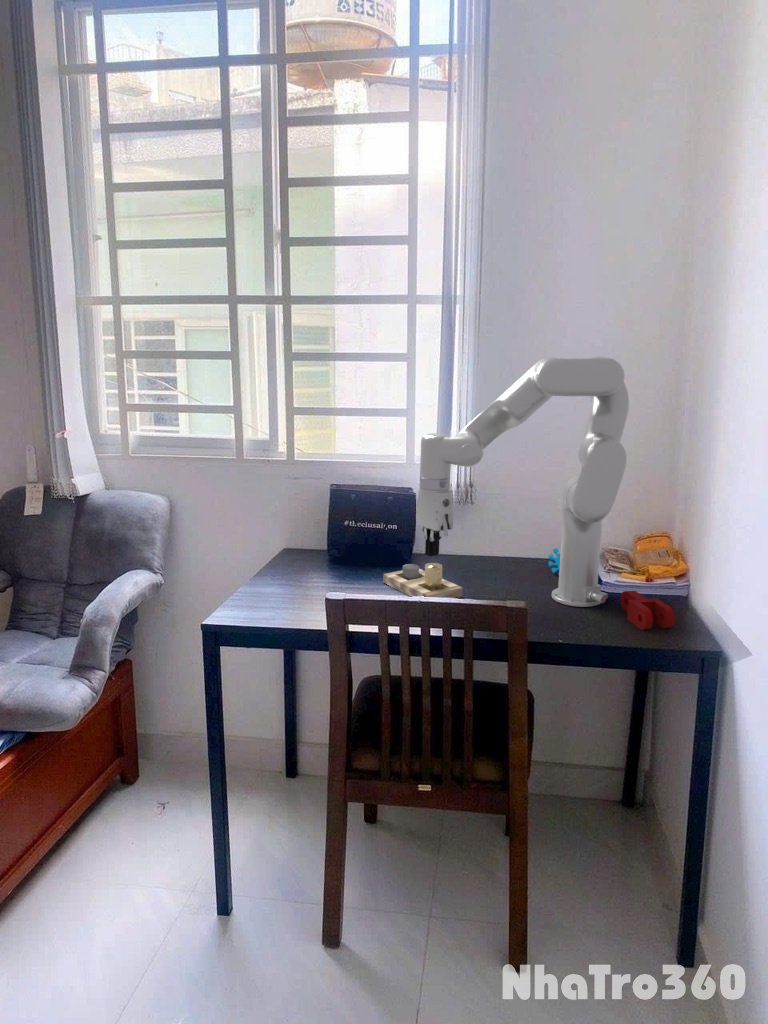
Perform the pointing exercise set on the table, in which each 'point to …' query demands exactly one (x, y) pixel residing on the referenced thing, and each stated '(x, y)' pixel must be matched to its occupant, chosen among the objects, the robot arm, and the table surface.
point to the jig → (418, 583)
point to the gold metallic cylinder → (433, 576)
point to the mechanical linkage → (646, 611)
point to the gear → (555, 561)
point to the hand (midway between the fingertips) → (431, 554)
